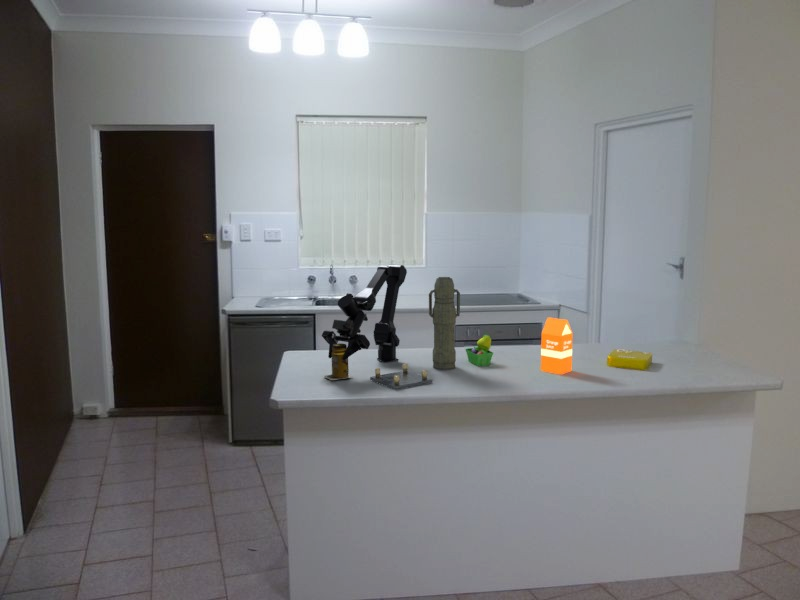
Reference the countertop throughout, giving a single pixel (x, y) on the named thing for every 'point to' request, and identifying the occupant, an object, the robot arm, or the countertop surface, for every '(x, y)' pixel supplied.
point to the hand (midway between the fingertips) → (336, 358)
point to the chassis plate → (401, 378)
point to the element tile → (629, 359)
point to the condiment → (339, 363)
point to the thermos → (444, 322)
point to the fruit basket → (480, 352)
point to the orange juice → (556, 346)
